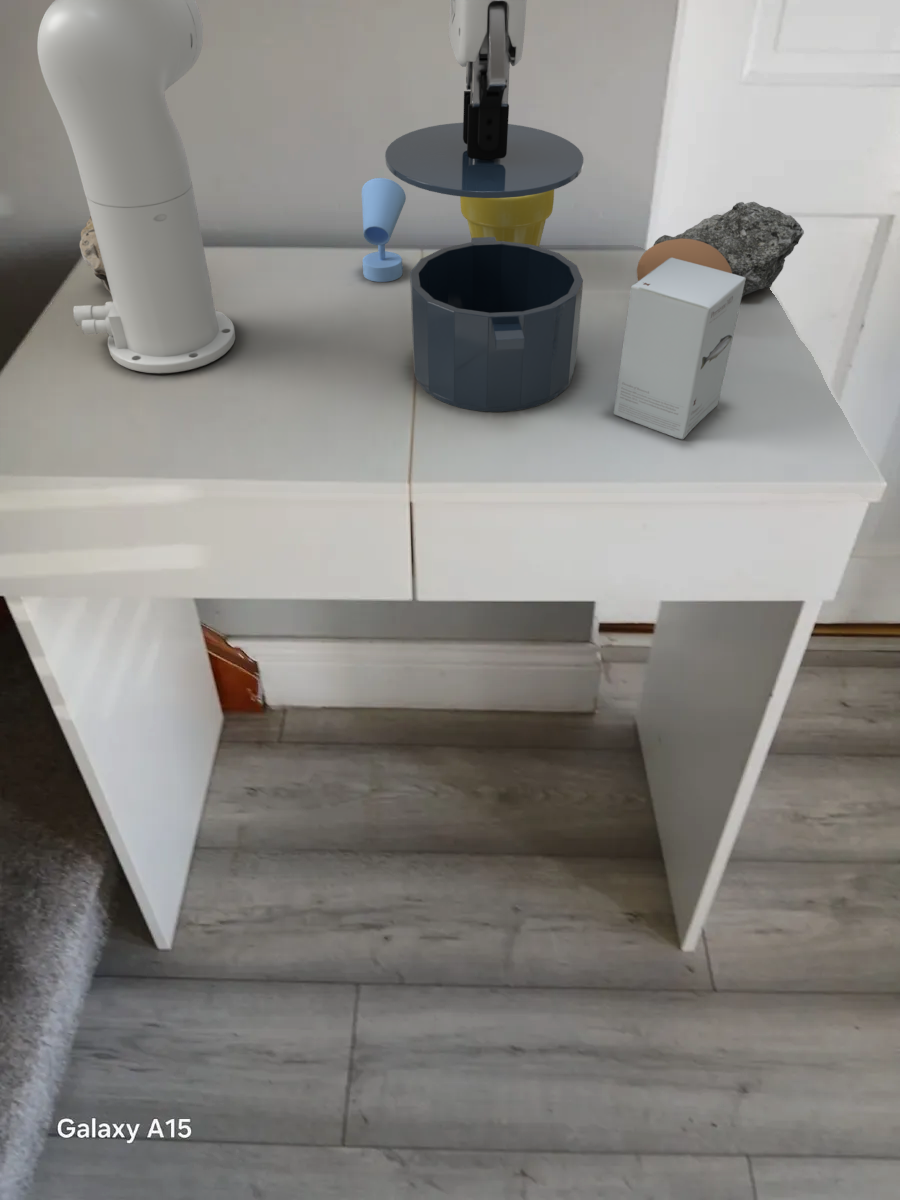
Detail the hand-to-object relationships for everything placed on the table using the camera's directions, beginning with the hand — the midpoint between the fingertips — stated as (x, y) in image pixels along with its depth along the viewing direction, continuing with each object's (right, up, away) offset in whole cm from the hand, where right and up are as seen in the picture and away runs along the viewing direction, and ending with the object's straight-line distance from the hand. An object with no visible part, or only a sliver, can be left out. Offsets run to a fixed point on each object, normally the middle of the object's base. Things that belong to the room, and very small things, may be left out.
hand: (484, 148), depth 80 cm
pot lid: (0, -1, +1) cm, 1 cm away
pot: (+1, -15, +14) cm, 21 cm away
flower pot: (+3, +1, +31) cm, 32 cm away
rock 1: (-38, -2, +28) cm, 48 cm away
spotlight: (-10, 0, +31) cm, 32 cm away
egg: (+26, -7, +17) cm, 32 cm away
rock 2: (+26, 0, +22) cm, 34 cm away
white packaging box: (+17, -20, +9) cm, 28 cm away
